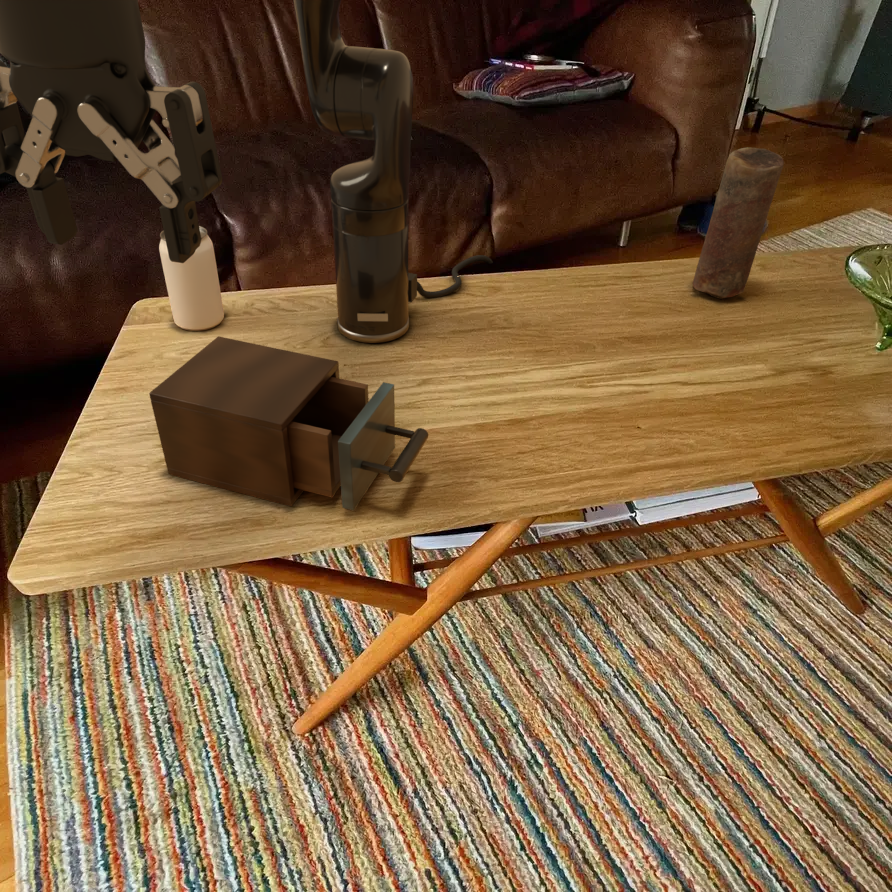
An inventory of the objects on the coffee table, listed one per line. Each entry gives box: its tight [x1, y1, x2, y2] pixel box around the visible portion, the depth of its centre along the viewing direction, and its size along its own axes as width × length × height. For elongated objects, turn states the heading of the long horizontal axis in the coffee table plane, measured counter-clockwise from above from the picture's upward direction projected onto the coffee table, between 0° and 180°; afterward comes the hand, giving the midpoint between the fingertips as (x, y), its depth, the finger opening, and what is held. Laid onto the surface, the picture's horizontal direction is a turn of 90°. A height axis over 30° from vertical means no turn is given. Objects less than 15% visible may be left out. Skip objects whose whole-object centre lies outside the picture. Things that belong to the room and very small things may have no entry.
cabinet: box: [148, 336, 340, 507], centre depth 75 cm, size 14×12×10 cm
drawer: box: [287, 377, 429, 512], centre depth 73 cm, size 17×10×8 cm, turn 71°
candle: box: [692, 146, 785, 299], centre depth 107 cm, size 8×7×20 cm
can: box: [158, 225, 225, 332], centre depth 97 cm, size 6×6×12 cm
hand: (122, 248), depth 49 cm, fingers open, 8 cm apart
